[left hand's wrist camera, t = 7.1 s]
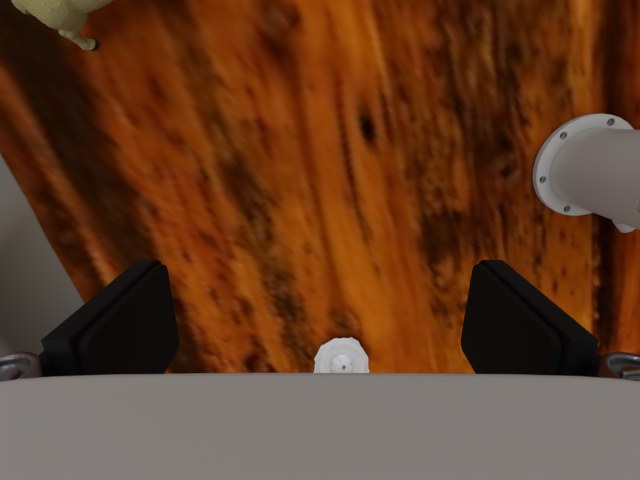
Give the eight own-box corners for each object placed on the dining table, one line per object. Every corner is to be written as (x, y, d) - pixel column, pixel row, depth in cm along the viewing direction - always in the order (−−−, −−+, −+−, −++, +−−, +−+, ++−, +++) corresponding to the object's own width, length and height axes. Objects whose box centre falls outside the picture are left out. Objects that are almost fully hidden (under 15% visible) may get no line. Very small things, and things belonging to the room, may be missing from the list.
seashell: (334, 345, 59) (307, 386, 54) (331, 327, 55) (303, 369, 51) (377, 367, 55) (353, 413, 51) (378, 350, 52) (352, 397, 47)
